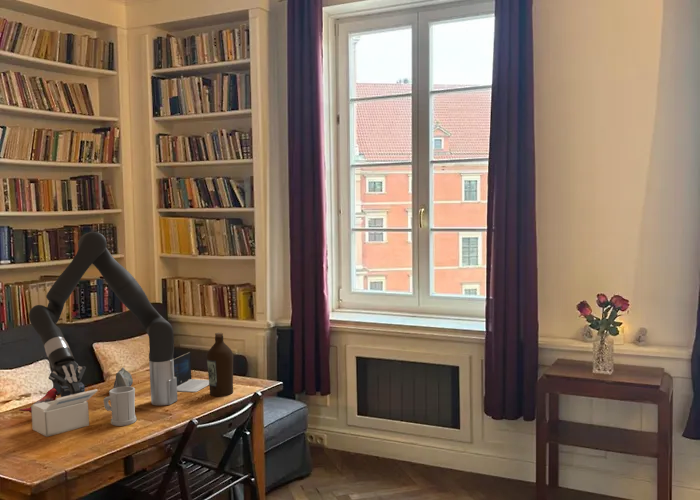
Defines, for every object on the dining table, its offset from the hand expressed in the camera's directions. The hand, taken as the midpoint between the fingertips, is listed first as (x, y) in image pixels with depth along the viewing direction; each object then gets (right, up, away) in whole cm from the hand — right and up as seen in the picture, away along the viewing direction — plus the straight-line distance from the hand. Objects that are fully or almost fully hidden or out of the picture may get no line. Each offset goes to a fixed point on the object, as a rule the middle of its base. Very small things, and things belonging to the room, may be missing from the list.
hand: (76, 393), depth 227 cm
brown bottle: (+40, -11, +48) cm, 64 cm away
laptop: (+25, -11, +61) cm, 67 cm away
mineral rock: (-3, -11, +59) cm, 60 cm away
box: (-13, -14, +29) cm, 35 cm away
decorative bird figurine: (-22, -14, +21) cm, 34 cm away
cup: (+10, -14, +14) cm, 22 cm away
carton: (-10, -14, +11) cm, 21 cm away
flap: (-6, -5, +6) cm, 10 cm away
